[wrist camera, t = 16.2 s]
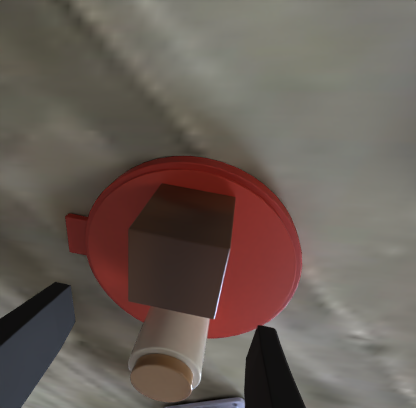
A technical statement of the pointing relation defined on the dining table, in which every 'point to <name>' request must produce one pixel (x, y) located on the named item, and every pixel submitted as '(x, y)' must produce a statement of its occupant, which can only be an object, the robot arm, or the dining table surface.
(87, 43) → the dining table surface
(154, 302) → the walnut block
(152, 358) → the spice pot
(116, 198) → the red lid
